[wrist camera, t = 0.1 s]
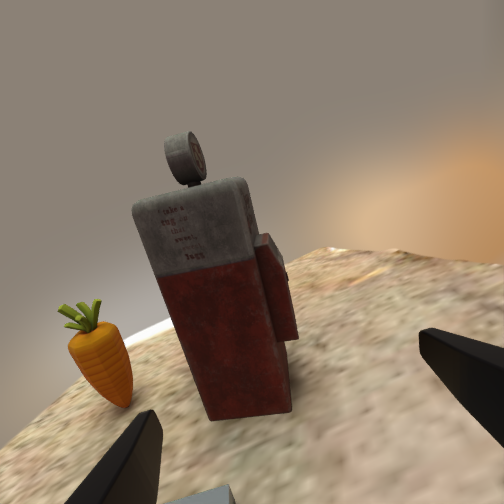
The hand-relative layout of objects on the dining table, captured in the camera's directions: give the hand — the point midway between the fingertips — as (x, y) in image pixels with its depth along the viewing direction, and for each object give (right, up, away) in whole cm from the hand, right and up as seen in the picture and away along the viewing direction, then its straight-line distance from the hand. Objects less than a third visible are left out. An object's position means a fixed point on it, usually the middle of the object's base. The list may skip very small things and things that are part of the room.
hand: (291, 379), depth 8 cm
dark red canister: (0, -12, +21) cm, 24 cm away
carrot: (-17, -15, +23) cm, 32 cm away
